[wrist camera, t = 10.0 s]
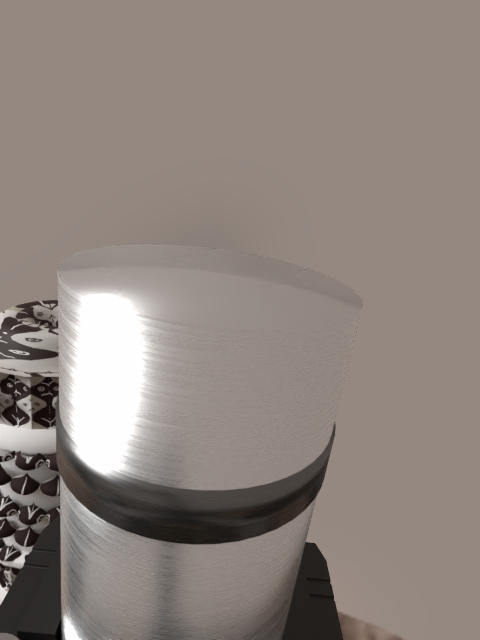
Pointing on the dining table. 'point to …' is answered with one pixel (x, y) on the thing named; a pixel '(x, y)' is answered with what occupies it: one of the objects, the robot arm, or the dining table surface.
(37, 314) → the decorative candle
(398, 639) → the dining table surface
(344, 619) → the dining table surface
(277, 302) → the metal thermos flask
